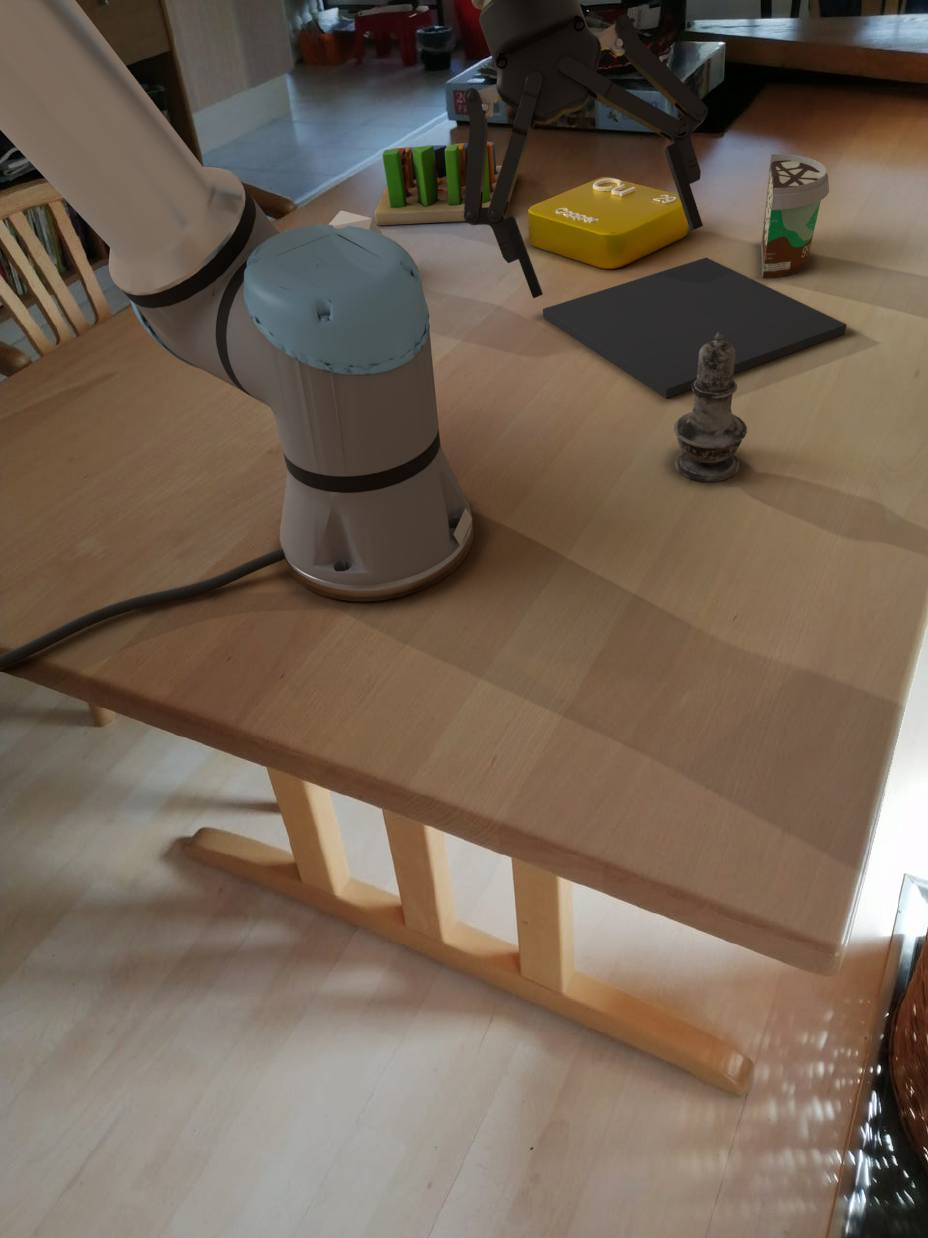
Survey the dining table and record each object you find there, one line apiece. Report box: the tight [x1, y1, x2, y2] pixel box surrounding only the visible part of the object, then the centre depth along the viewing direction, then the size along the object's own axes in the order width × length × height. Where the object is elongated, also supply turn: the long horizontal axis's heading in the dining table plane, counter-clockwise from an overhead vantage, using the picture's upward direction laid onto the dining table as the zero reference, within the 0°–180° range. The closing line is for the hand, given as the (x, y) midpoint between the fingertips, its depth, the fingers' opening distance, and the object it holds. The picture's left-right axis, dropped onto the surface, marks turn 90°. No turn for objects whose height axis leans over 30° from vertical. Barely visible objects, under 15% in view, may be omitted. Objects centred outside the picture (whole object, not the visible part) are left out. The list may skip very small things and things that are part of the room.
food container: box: [760, 153, 830, 279], centre depth 111 cm, size 12×6×10 cm, turn 168°
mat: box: [542, 257, 847, 399], centre depth 104 cm, size 22×22×1 cm
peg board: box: [373, 141, 507, 226], centre depth 136 cm, size 18×17×9 cm
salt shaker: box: [673, 332, 748, 483], centre depth 81 cm, size 6×6×12 cm
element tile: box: [527, 176, 689, 270], centre depth 122 cm, size 15×15×5 cm
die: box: [328, 209, 383, 235], centre depth 117 cm, size 8×9×10 cm
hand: (616, 263), depth 82 cm, fingers open, 13 cm apart
